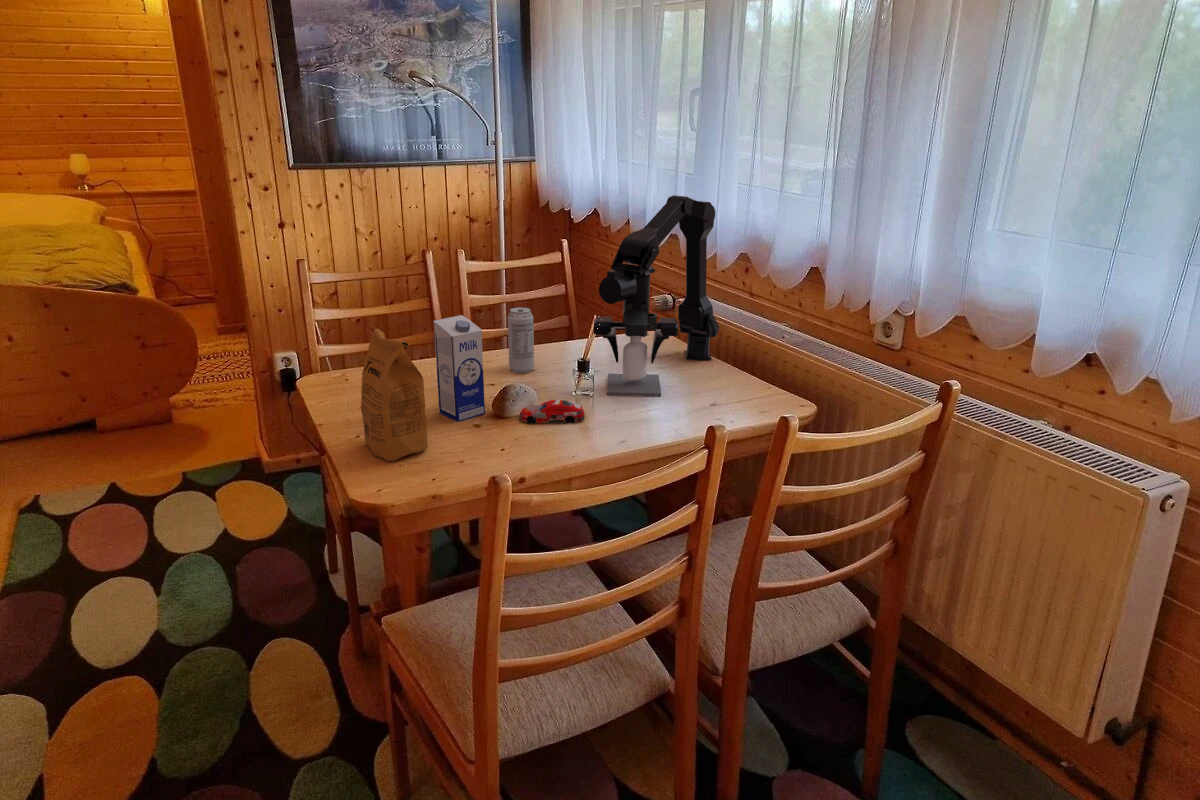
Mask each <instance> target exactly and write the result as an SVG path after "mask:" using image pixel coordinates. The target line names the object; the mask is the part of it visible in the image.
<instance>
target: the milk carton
mask: <svg viewBox="0 0 1200 800" xmlns="http://www.w3.org/2000/svg"><path fill="white" fill-rule="evenodd" d="M433 329H434V330H433V332H434V334H433V335H434V348H435V361H436V362H435V363H436V365H435V366H436V378H437V379H436V380H437V395H438V411H439V414H441V415H442V416H445V417H446V418H448V419H450V420H453V421H455V422H457V423H459V422H463V421H466V420H470V419H472V418H475V417H479V416H482V415H486V411H485V410H486V405H485V404H486V403H485V384H484V381H485V380H484V359H483V355H484V354H483V335H482V332H483V330H482V329H481V328H480V327H479V326H478V325H477V324H475V323H474V322H473V321H471V320H470V319H469V318H467V317H465V316H464V315H462V314H459V315H455V316H451V317H446V318H441V319H440V318H439V319H435V320H433Z"/></svg>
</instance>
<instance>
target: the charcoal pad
mask: <svg viewBox="0 0 1200 800" xmlns="http://www.w3.org/2000/svg"><path fill="white" fill-rule="evenodd" d="M606 390H607V394H606V395H607V396H611V397H612V396H613V397H614V396H615V397H624V396H625V397H649V396H651V398H652V397H653V398H654V397H655V396H657V397H659V398H661V397H662V387H661V382H660V376H659V374H657V373H656V374H650V373H649V374H647V373H646V376H645V377H644V378H641V379H637V380H627V379H625V378H623V373H607V389H606ZM657 397H655V398H657Z"/></svg>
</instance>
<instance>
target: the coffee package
mask: <svg viewBox="0 0 1200 800" xmlns="http://www.w3.org/2000/svg"><path fill="white" fill-rule="evenodd" d="M409 348H410V345H409V343H408V342H407V341H405V340H400V339H388V338H386V335H385V333H384V332H383V331H382V330H380V329H379V328H375V329H374V330H373V331H372V337H371V340H370V342H369V345H368V349H367V353H366V356H365V358H364V361H363V362H364V364H363V369H362V372H361V375H362V376H361V391H360V392H361V394H360V395H361V397H360V398H361V400H360V402H361V403H360V410H361V411H360V413H361V415H362V416H361V417H362V422H363V435H364V440H365V441H364V443H365V446H366V447H368V448H369V449H370V450H371V452H372V453H373V455H374V456H375V455H376V456H375V457H377V456H378V458H380V457H381V458H380V459H383V460H385V461H388V462H395V461H397V460H399V459H402V458H403V457H405V456H407V455H410V454H415V453H420V452H422V451H424V450H425V449H428V447H429V445H428V416H427V415H426V400H425V399H426V398H425V383H424V377H423V375H422V373H421V371H420V370H419V369H418V367H417V366H416V365H415V363H414V362H413V360H411V358H410V357H409V355H408V353H407V352H406V350H407V349H409Z"/></svg>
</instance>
